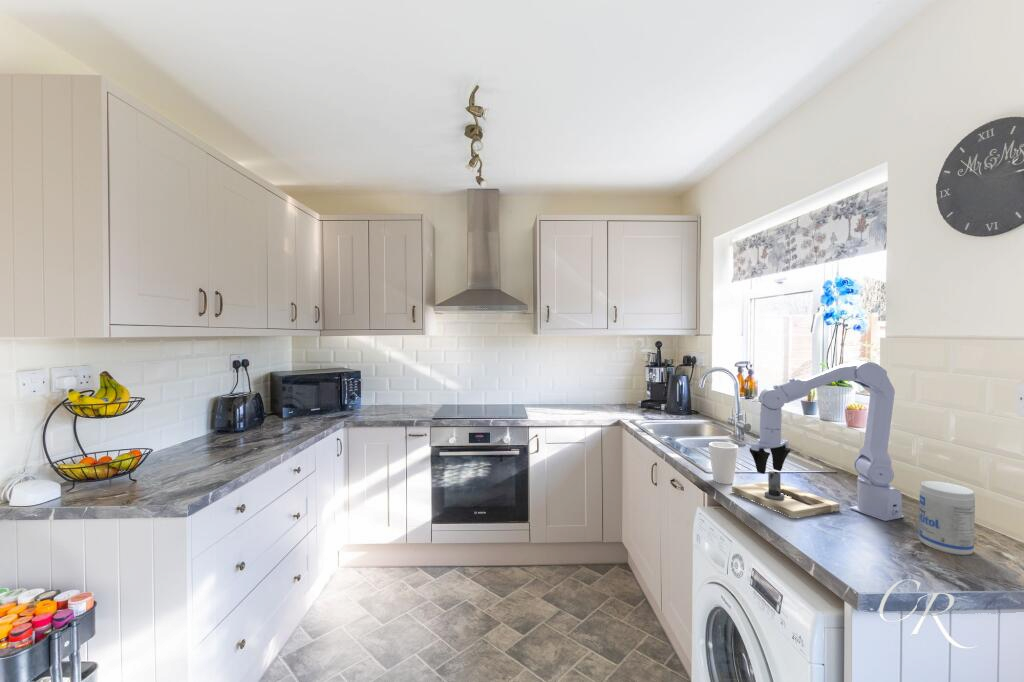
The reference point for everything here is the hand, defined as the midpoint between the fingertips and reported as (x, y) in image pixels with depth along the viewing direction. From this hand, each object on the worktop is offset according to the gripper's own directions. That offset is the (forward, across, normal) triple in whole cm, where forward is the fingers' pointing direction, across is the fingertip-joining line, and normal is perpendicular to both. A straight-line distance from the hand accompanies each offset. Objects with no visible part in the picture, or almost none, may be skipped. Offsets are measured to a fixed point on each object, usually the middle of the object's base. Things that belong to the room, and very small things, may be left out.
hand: (769, 471), depth 135 cm
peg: (+7, 0, +2) cm, 8 cm away
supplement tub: (+9, -12, +38) cm, 40 cm away
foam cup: (+10, -4, -20) cm, 23 cm away
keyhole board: (+9, -5, +2) cm, 11 cm away
